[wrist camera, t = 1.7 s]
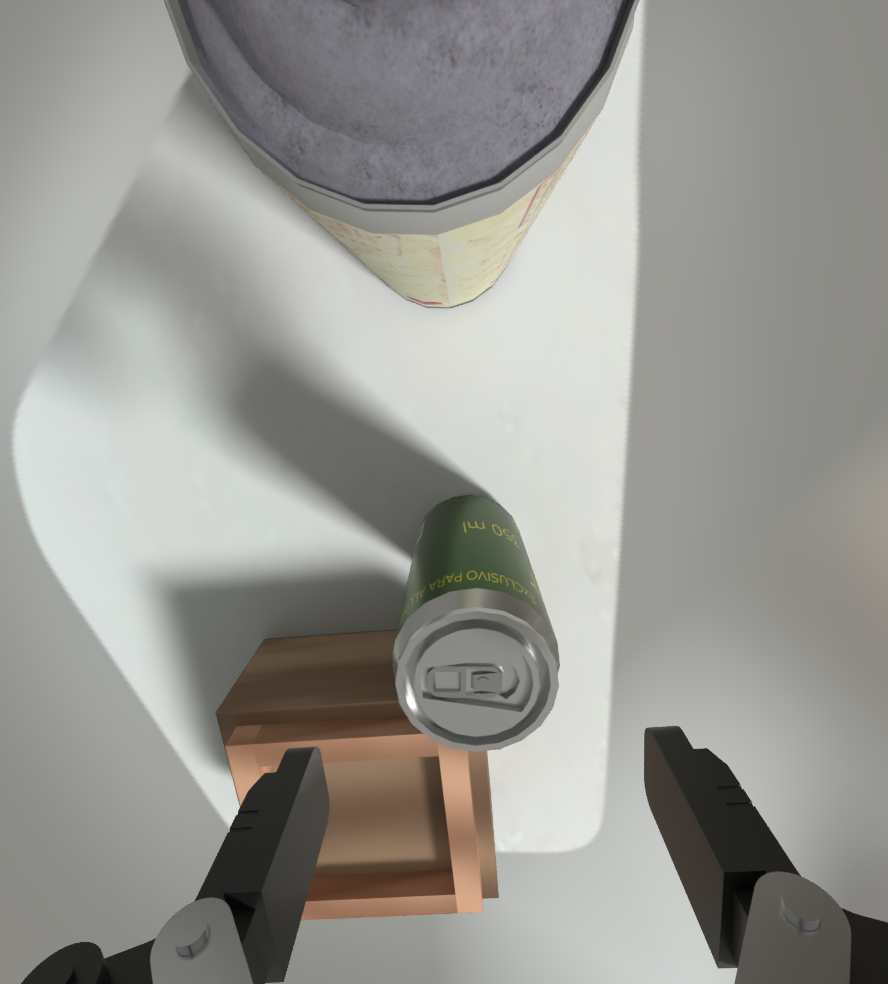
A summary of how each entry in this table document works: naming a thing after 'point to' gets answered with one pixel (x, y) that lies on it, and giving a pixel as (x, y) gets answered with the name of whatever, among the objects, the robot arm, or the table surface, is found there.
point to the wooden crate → (366, 778)
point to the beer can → (474, 631)
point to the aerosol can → (411, 118)
